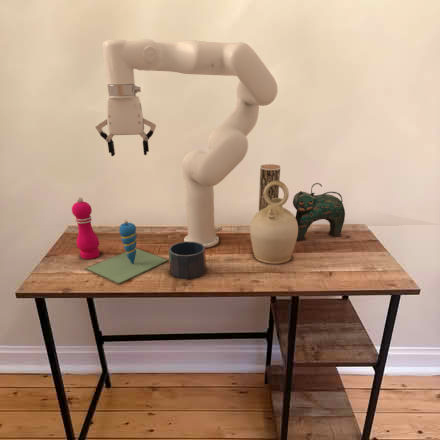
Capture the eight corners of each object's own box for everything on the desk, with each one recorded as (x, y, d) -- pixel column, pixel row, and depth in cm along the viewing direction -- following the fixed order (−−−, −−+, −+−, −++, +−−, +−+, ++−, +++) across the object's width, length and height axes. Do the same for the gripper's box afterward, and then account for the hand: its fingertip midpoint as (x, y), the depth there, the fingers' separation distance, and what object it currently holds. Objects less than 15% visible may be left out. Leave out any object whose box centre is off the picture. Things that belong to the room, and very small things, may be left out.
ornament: (143, 263, 130) (138, 218, 122) (130, 268, 126) (124, 223, 119) (133, 258, 133) (128, 215, 125) (120, 264, 130) (114, 219, 122)
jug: (263, 243, 144) (266, 172, 131) (303, 253, 136) (311, 179, 123) (240, 258, 133) (241, 182, 120) (282, 270, 125) (288, 190, 113)
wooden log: (277, 232, 153) (282, 165, 140) (273, 239, 147) (278, 169, 135) (260, 230, 155) (263, 163, 142) (255, 237, 149) (258, 168, 137)
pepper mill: (95, 260, 133) (84, 201, 123) (75, 259, 134) (62, 200, 124) (104, 251, 139) (95, 194, 129) (85, 250, 140) (74, 193, 130)
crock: (187, 260, 132) (186, 238, 129) (212, 269, 127) (212, 247, 123) (163, 271, 125) (161, 249, 122) (189, 282, 119) (187, 259, 116)
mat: (135, 248, 141) (135, 247, 141) (167, 261, 132) (167, 259, 132) (86, 269, 127) (86, 268, 127) (119, 284, 119) (119, 282, 118)
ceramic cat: (293, 242, 144) (298, 186, 134) (286, 235, 150) (291, 181, 140) (344, 237, 148) (352, 182, 138) (335, 230, 154) (343, 177, 144)
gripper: (153, 90, 117) (158, 151, 126) (92, 91, 116) (102, 153, 124) (152, 91, 111) (157, 156, 119) (88, 93, 109) (98, 158, 118)
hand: (129, 154), depth 122 cm, fingers open, 9 cm apart
